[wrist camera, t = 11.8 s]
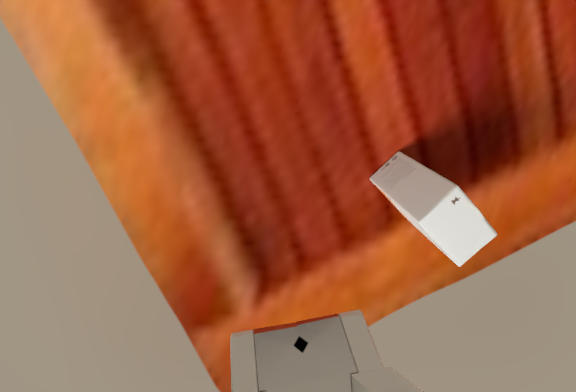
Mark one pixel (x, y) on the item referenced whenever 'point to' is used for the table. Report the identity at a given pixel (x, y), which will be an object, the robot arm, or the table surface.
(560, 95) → the table surface
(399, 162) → the skincare box
